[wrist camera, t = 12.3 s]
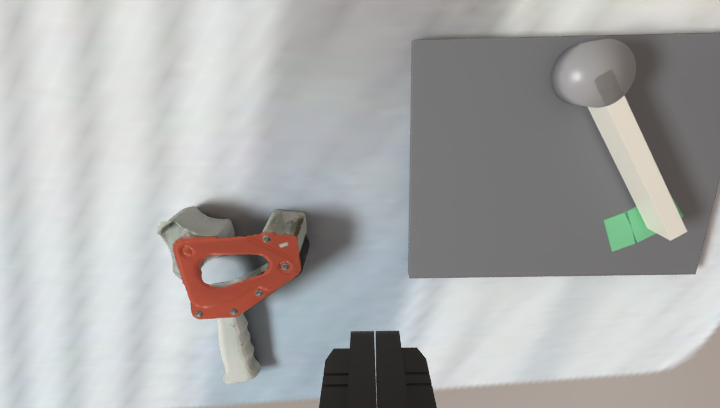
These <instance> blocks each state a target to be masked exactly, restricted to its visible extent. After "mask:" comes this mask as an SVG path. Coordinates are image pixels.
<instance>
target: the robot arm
mask: <svg viewBox="0 0 720 408" xmlns="http://www.w3.org/2000/svg"><path fill="white" fill-rule="evenodd" d="M376 386H377V403H376ZM319 408H437V407H436V402H435V398H434V393H433V388H432V386H431V379H430V375H429V370H428V365H427V361H426V358H425V357H424V356H423V355H422V353H421V352H420V351H419V350H418V349H417V348H401V342H400V334H399V331H376V376H375V349H374V331H353V332H351V339H350V349H333V351H332V352H331V353H330V355H329V356H328V358H327V359H326V361H325V368H324V376H323V383H322V390H321V397H320V405H319Z"/></svg>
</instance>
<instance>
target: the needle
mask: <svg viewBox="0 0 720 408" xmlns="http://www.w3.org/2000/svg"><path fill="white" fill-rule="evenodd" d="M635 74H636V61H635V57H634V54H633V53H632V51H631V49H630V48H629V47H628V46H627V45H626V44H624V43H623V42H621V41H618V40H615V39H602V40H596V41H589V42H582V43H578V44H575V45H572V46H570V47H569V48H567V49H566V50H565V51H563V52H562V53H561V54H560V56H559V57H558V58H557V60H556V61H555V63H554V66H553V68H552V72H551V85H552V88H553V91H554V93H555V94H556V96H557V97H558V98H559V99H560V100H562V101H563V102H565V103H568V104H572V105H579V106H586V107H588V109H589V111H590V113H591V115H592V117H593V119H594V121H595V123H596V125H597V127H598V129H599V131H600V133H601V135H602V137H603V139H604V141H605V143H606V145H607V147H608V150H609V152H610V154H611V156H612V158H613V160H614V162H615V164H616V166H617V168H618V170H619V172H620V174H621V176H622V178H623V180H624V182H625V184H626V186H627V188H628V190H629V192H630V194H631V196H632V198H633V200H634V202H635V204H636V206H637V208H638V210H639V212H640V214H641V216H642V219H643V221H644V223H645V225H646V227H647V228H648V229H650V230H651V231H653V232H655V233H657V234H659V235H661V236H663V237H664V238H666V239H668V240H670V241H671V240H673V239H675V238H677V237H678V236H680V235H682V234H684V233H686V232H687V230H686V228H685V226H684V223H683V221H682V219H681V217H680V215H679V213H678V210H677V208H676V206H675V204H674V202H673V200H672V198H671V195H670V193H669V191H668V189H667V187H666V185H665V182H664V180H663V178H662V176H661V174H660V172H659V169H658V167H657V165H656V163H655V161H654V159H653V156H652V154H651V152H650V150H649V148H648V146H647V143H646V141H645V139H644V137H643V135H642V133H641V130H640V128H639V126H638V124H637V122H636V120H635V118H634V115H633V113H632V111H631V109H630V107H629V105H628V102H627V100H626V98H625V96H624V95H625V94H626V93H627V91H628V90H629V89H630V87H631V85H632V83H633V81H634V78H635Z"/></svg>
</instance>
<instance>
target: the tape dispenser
mask: <svg viewBox="0 0 720 408" xmlns="http://www.w3.org/2000/svg"><path fill="white" fill-rule="evenodd" d="M157 232H158V234H159V235H161V237H162V238H163V240H164V241H165V243H166V245H167V246H168V248H169V250H170V253H171V256H172V260H173V272H174V274H175V275H176V276H178V277H179V278H180V279H182V281H183V284H184V285H185V287H186V290H187V293H188V297H189V299H190V301H191V312H192V315H193V316H194V317H195V318H197V319H215V318H217V321H218V336H219V344H220V350H221V355H222V359H223V362H224V366H225V373H224V375H223V381H224V382H225V383H226V384H235V383H240V382H244V381H248V380H251V379H253V378H254V377H256V376H257V375H258V373H259V371H260V364H259V362H258V361H257V360H256V359H255V357H254V347H253V345H252V344H251V342H250V336H251V335H250V333H249V332H248V330H247V326H248V321H247V320H246V318H245V316H244V314H243V313H244V312H245V311H247V310H248V309H250V308H251V307H253V306H254V305H255V304H257V303H258V302H260V301H261V300H263V299H264V298H266V297H267V296H268V295H270V294H271V293H273V292H274V291H275V290H277V289H278V288H280V287H281V286H283V285H284V284H286V283H287V282H289V281H290V280H292V279H293V278H295V277H297V276H298V275H299V274H300V273H301V272H302V269H303V266H304V263H305V259H306V256H307V253H308V249H309V241H308V239H307V222H306V214H305V213H304V212H298V211H286V210H274V211H273V212H272V214H271V216H270V218H269V220H268V222H267V224H266V226H265V227H264V229H263V231H262V233H260V234H255V235H253V236H250V235H247V236H246V237H241V236H238V237H235V230H234V226H233V224H232V222H231V220H230V219H216V218H211V217H208V216H206V215H205V214H203V213H202V212H200V211H199V210H198V209H197V208H196V207H195V206H192V207H188V208H185V209H183V210H181V211H180V212H178V213H177V214H176V215H174V216H173V217H172V218H171V219H170V220H168V221H166V222H161V223H160V225H159V226H158V230H157ZM236 254H243V255H247V254H253V255H259V256H263V257H264V258H265V259H266V260H267V263H265V264H264V265H262V266H261V267H259V268H258V269H256V270H254V271H252V272H251V273H249V274H246V275H244V276H242V277H239V278H236V279H234V280H232V281H227V282H220V283H214V284H211V285H209V284H206V283H204V282H203V280H202V277H201V274H202V272H201V268H202V266H203V265H204V264H205V263H206V262H208V261H209V260H211V259H213V258H216V257H219V256H224V255H236Z"/></svg>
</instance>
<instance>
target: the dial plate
mask: <svg viewBox="0 0 720 408" xmlns="http://www.w3.org/2000/svg"><path fill="white" fill-rule="evenodd" d="M602 39H615V40H618V41H621V42H623V43H624V44H626V45H627V46H628V47H629V48H630V49H631V51H632V53H633V54H634V57H635V61H636V74H635V78H634V81H633V83H632V85H631V87H630V89H629V90H628V91H627V93H626V94H625V95H624V96H625V98H626V100H627V102H628V105H629V107H630V109H631V111H632V113H633V115H634V118H635V120H636V122H637V124H638V126H639V128H640V130H641V133H642V135H643V137H644V139H645V141H646V143H647V146H648V148H649V150H650V152H651V154H652V156H653V159H654V161H655V163H656V165H657V167H658V169H659V172H660V174H661V176H662V178H663V180H664V182H665V185H666V187H667V189H668V191H669V193H670V195H671V198H672V200H673V202H674V204H675V206H676V208H677V210H678V213H679V215H680V217H681V219H682V221H683V223H684V226H685V228H686V230H687V232H686V233H684V234H682V235H680V236H678V237H677V238H675V239H673V240H671V241H670V240H668V239H666V238H664V237H663V236H661V235H659V234H657V233H655V232H653V231H651V230H650V229H648V228H647V227H646V225H645V223H644V221H643V219H642V216H641V214H640V212H639V210H638V208H637V206H636V204H635V202H634V200H633V198H632V196H631V194H630V192H629V190H628V188H627V186H626V184H625V182H624V180H623V178H622V176H621V174H620V172H619V170H618V168H617V166H616V164H615V162H614V160H613V158H612V156H611V154H610V152H609V150H608V147H607V145H606V143H605V141H604V139H603V137H602V135H601V133H600V131H599V129H598V127H597V125H596V123H595V121H594V119H593V117H592V115H591V113H590V111H589V109H588V107H586V106H579V105H572V104H568V103H565V102H563V101H562V100H560V99H559V98H558V97H557V96H556V94H555V93H554V91H553V88H552V85H551V72H552V68H553V66H554V63H555V61H556V60H557V58H558V57H559V56H560V54H561V53H562V52H563V51H565V50H566V49H567V48H569V47H570V46H572V45H575V44H578V43H582V42H589V41H596V40H602ZM719 180H720V33H687V34H645V35H603V36H562V37H520V38H478V39H436V40H413V41H412V66H411V127H410V189H409V250H408V273H409V277H410V278H466V277H536V276H607V275H677V274H696V270H697V266H698V262H699V258H700V254H701V250H702V246H703V243H704V239H705V235H706V231H707V227H708V223H709V219H710V215H711V211H712V207H713V203H714V200H715V196H716V192H717V188H718V184H719Z"/></svg>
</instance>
